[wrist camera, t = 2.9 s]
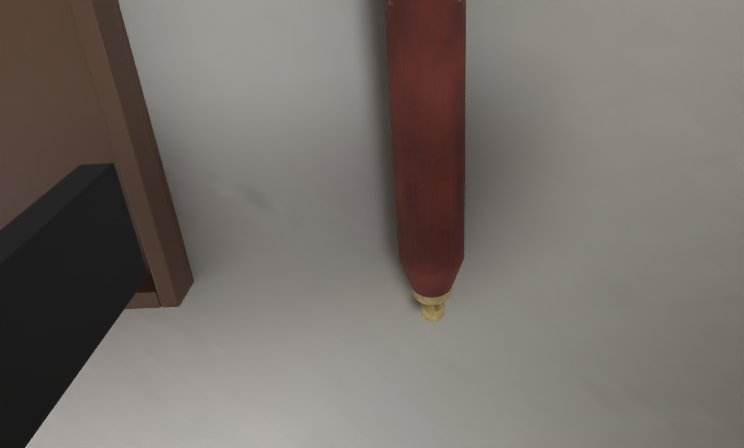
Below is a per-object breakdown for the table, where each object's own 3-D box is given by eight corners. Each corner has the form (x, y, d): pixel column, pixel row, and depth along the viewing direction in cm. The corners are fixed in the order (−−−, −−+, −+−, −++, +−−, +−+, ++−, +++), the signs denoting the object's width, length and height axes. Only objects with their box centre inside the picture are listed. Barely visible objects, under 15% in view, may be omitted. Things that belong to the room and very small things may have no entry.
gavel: (566, 357, 25) (304, 356, 26) (547, 284, 29) (321, 285, 30) (650, -377, 14) (195, -330, 15) (603, -337, 18) (243, -303, 19)
